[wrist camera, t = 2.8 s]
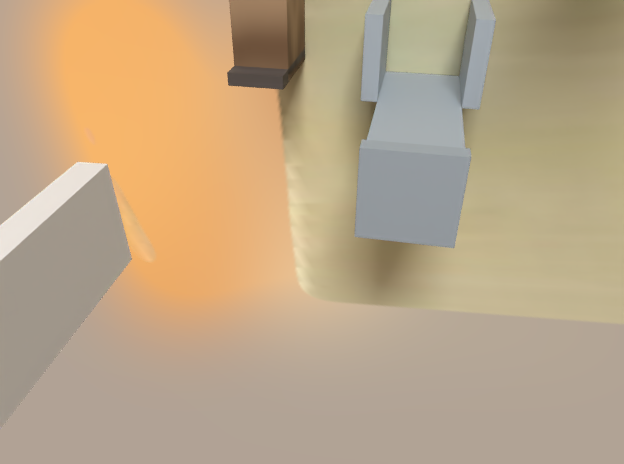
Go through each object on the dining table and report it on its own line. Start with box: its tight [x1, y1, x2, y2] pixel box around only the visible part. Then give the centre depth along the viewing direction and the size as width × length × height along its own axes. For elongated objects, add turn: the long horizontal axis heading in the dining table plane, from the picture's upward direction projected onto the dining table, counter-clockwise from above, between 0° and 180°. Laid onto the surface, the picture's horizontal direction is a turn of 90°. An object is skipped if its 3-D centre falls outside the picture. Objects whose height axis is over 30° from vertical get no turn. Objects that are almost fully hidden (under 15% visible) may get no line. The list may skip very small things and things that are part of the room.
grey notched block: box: [355, 0, 496, 248], centre depth 32 cm, size 10×7×13 cm
